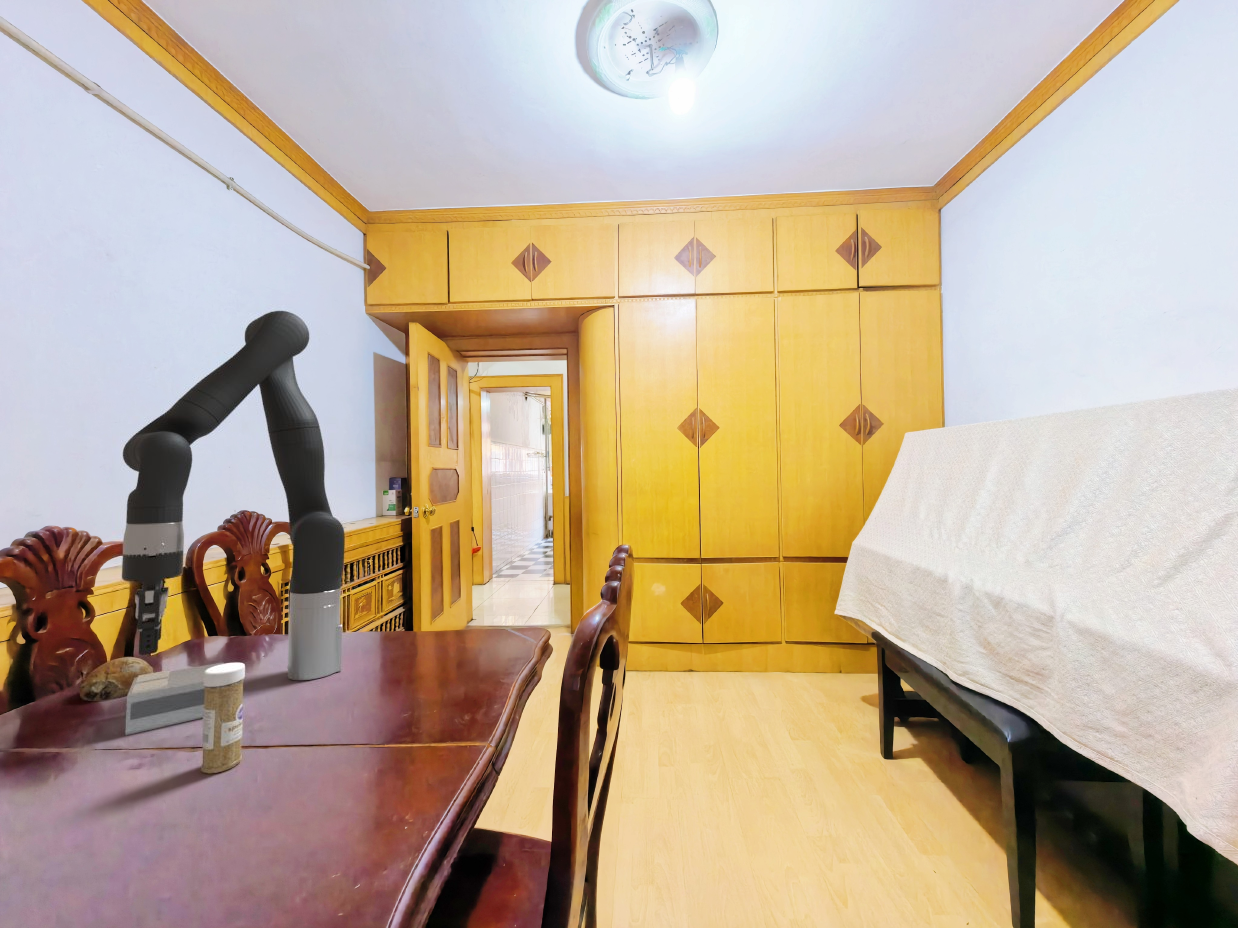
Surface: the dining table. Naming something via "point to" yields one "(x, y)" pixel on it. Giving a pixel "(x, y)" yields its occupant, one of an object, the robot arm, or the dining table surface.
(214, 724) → the sprinkles bottle
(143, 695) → the box
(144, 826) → the dining table surface
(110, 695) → the bread roll
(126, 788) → the dining table surface
